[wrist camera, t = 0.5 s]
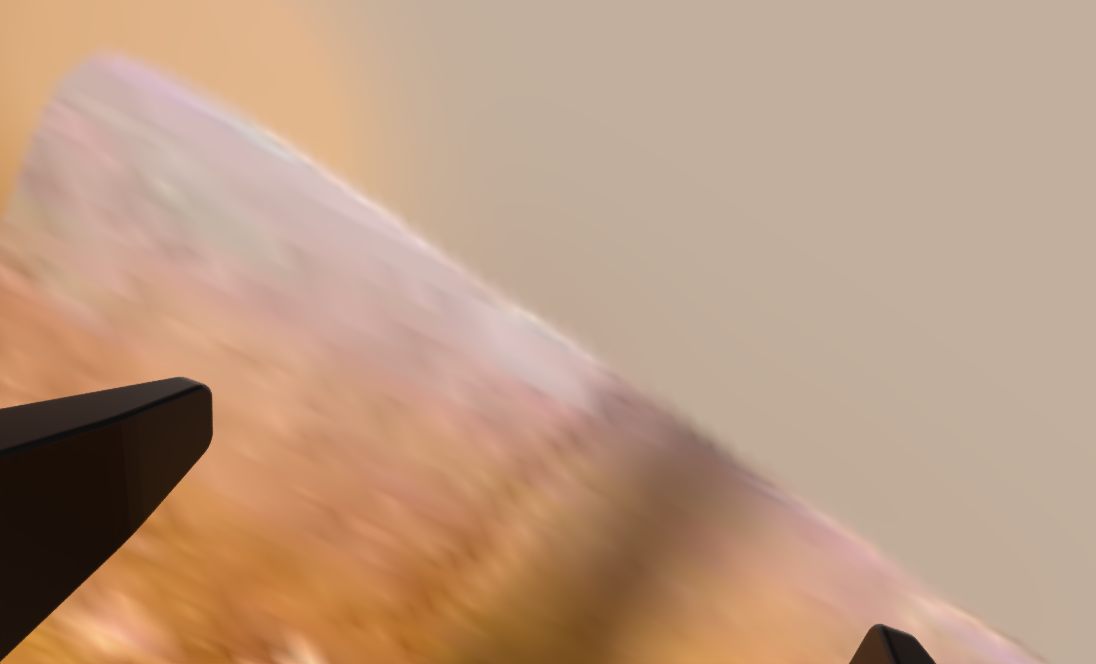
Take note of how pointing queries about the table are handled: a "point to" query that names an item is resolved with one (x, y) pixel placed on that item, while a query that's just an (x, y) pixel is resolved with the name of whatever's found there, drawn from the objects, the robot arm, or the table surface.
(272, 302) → the table surface
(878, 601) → the table surface
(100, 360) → the table surface
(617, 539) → the table surface
